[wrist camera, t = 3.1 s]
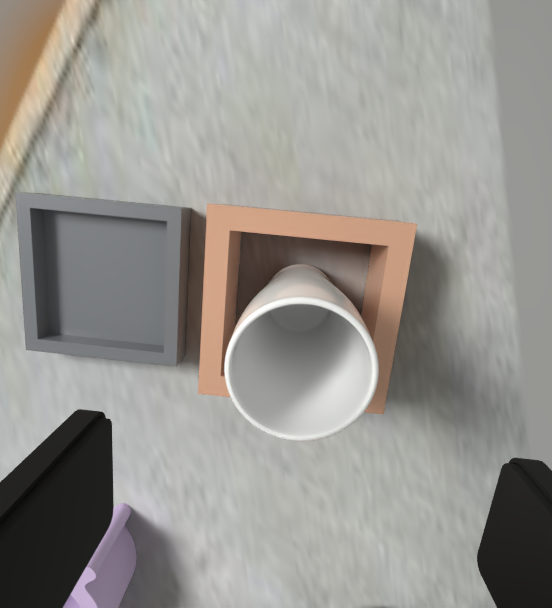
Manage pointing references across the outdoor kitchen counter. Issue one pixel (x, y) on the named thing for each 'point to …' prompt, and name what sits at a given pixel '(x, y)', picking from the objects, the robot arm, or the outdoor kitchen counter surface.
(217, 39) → the outdoor kitchen counter surface
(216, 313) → the terracotta holder
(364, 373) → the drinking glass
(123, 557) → the clip
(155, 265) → the charcoal tray
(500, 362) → the outdoor kitchen counter surface
